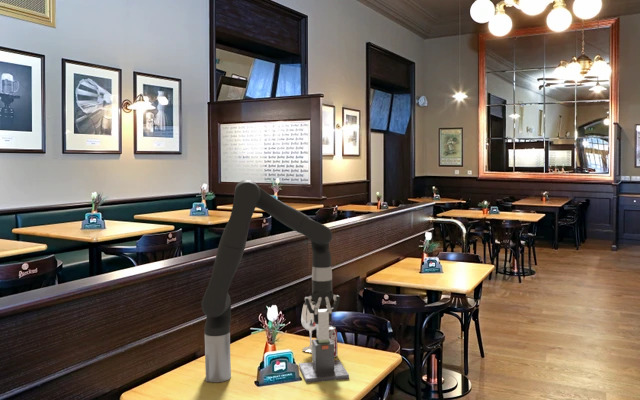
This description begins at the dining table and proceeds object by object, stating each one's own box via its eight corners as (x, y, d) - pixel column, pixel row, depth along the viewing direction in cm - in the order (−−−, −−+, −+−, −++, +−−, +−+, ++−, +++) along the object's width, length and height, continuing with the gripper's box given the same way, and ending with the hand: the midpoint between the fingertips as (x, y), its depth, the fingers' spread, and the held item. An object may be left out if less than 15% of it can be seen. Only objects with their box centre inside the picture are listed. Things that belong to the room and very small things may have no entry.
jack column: (318, 354, 214) (318, 312, 213) (316, 350, 218) (316, 309, 217) (329, 353, 215) (328, 311, 213) (327, 350, 219) (326, 308, 217)
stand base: (306, 382, 207) (305, 350, 206) (299, 367, 223) (298, 336, 222) (349, 378, 211) (348, 346, 210) (339, 363, 226) (338, 333, 225)
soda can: (318, 357, 233) (317, 328, 232) (325, 352, 239) (325, 324, 238) (333, 360, 230) (332, 330, 229) (340, 355, 236) (339, 326, 235)
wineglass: (299, 348, 245) (298, 302, 243) (317, 346, 247) (316, 300, 246) (304, 354, 237) (303, 306, 236) (322, 352, 240) (321, 305, 238)
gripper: (305, 281, 209) (305, 327, 210) (342, 279, 212) (343, 324, 213) (301, 277, 216) (302, 321, 218) (338, 275, 219) (338, 319, 220)
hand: (322, 322), depth 215 cm, fingers closed on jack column, 4 cm apart
